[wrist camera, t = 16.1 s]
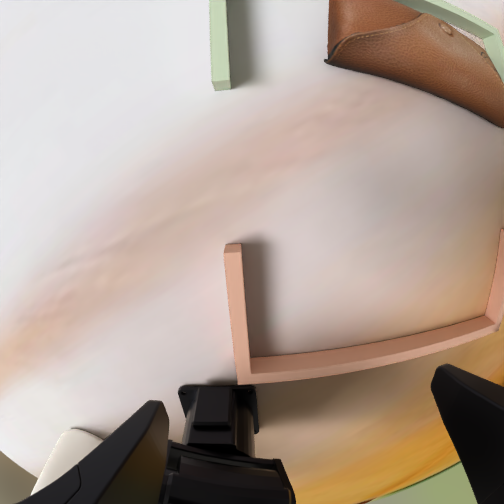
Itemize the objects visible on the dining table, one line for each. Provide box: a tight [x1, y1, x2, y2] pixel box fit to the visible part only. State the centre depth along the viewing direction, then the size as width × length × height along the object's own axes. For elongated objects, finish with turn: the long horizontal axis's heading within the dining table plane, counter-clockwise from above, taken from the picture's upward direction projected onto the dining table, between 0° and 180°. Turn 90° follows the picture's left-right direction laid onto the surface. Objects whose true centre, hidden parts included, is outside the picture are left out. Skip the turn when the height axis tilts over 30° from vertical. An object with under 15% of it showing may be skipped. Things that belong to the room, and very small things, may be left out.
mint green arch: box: [209, 0, 504, 91], centre depth 14 cm, size 10×26×2 cm, turn 94°
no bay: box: [224, 229, 504, 385], centre depth 19 cm, size 10×26×2 cm, turn 94°
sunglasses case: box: [324, 0, 504, 128], centre depth 14 cm, size 18×7×7 cm
